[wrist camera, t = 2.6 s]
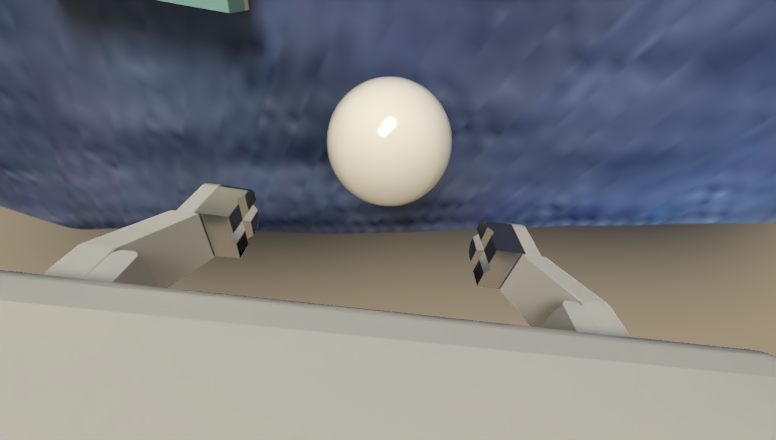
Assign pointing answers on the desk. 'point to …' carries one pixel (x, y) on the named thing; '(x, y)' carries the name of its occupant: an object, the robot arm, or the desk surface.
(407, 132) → the lightbulb
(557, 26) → the desk surface
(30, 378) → the robot arm
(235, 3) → the dish
